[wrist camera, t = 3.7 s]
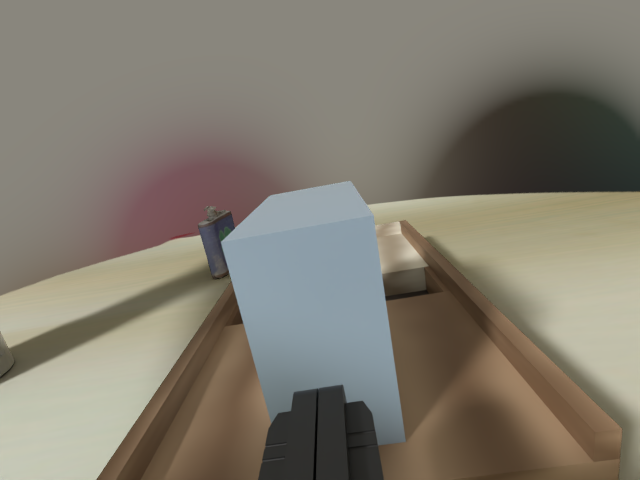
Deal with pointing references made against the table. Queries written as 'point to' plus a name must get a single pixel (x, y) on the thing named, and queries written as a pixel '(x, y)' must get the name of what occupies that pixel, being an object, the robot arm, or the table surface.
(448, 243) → the table surface
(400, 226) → the board
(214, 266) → the flask
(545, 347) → the table surface
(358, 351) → the block
